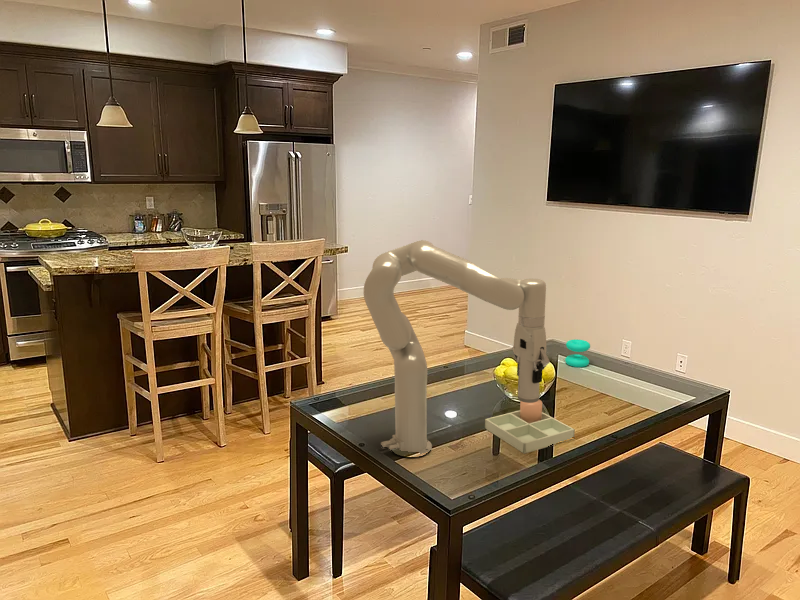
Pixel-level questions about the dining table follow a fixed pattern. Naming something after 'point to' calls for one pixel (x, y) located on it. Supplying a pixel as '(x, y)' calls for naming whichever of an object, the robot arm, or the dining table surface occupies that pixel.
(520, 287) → the robot arm
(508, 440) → the carrier
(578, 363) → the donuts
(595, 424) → the dining table surface
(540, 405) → the peach rounded capsule
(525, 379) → the travel mug
